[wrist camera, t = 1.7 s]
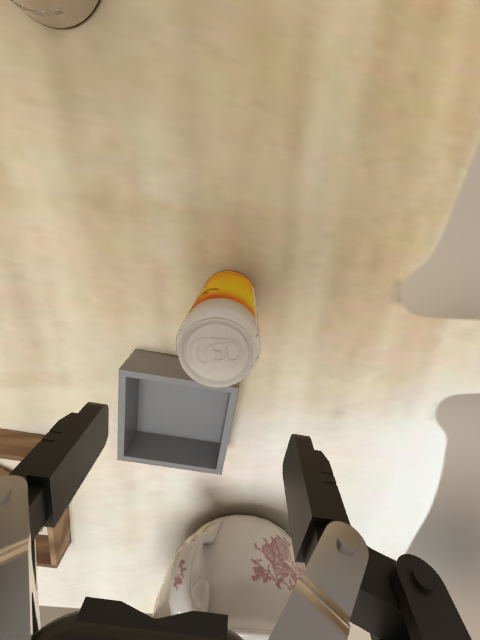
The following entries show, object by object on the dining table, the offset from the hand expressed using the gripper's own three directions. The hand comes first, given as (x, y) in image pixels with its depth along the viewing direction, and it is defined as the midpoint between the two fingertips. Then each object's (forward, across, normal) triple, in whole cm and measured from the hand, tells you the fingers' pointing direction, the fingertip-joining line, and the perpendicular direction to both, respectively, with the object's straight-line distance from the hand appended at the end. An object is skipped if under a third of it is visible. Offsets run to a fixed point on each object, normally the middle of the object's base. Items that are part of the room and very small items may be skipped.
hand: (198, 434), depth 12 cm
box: (+22, +4, +16) cm, 28 cm away
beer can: (+23, 0, 0) cm, 23 cm away
